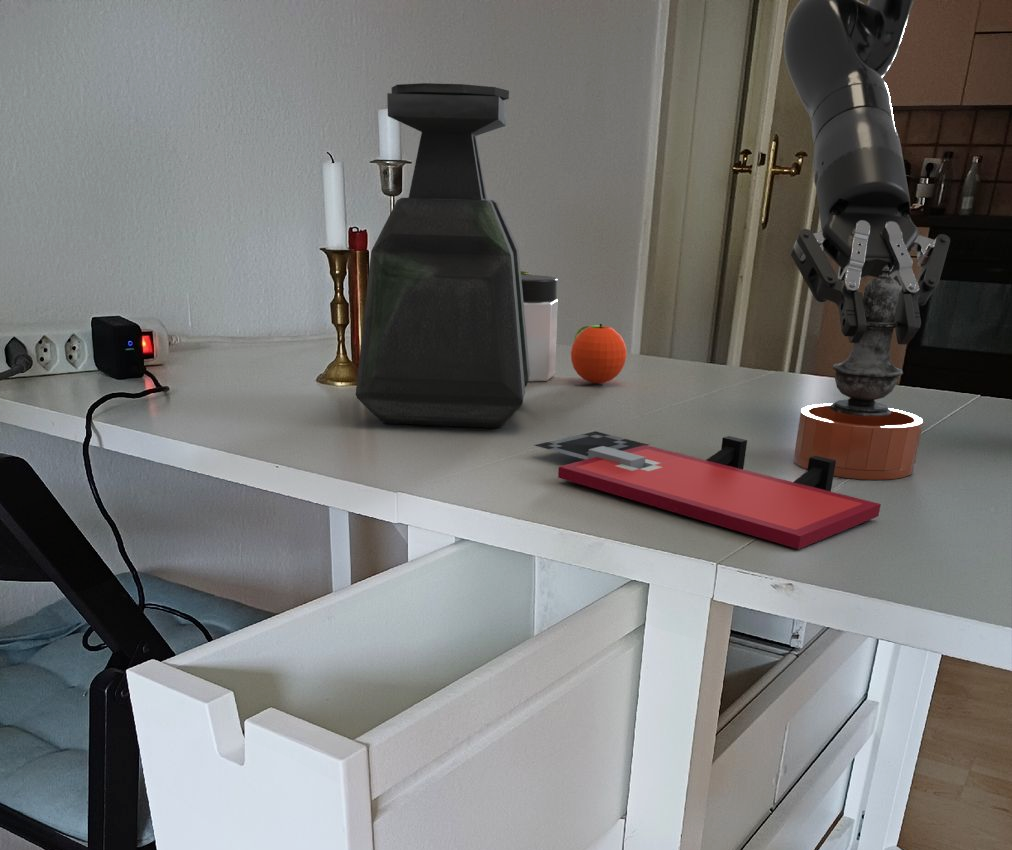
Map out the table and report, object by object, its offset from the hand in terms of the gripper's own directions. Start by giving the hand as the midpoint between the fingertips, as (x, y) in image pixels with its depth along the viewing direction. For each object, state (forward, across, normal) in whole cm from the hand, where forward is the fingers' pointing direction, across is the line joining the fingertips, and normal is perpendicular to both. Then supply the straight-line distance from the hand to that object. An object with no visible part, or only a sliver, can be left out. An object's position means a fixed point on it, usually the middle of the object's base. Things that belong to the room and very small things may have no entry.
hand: (882, 337), depth 85 cm
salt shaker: (+3, 0, +6) cm, 7 cm away
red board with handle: (+13, -17, +3) cm, 22 cm away
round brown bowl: (+7, 0, +9) cm, 12 cm away
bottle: (-6, -37, +23) cm, 44 cm away
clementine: (-22, -19, +39) cm, 48 cm away
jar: (-24, -28, +41) cm, 55 cm away
